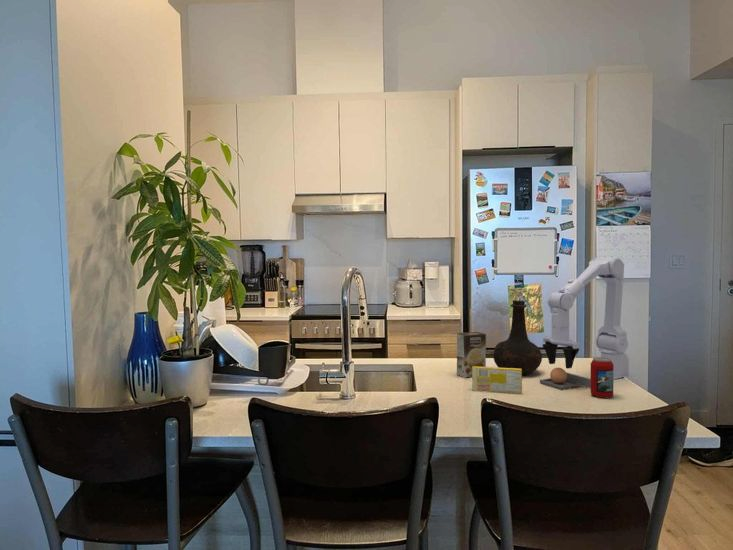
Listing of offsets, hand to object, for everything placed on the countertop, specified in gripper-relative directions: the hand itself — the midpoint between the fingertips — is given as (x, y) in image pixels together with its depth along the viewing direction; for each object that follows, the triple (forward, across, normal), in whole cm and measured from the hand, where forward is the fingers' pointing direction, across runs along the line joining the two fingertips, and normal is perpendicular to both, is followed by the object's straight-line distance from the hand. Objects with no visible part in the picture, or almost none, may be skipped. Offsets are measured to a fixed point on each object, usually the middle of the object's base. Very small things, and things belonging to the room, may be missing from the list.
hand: (560, 365), depth 181 cm
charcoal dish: (+7, 0, 0) cm, 7 cm away
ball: (+4, -1, 0) cm, 4 cm away
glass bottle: (+7, -21, -1) cm, 22 cm away
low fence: (+7, 0, +6) cm, 9 cm away
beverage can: (+7, +16, +1) cm, 18 cm away
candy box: (+7, -4, -25) cm, 26 cm away
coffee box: (+7, -26, -19) cm, 33 cm away
